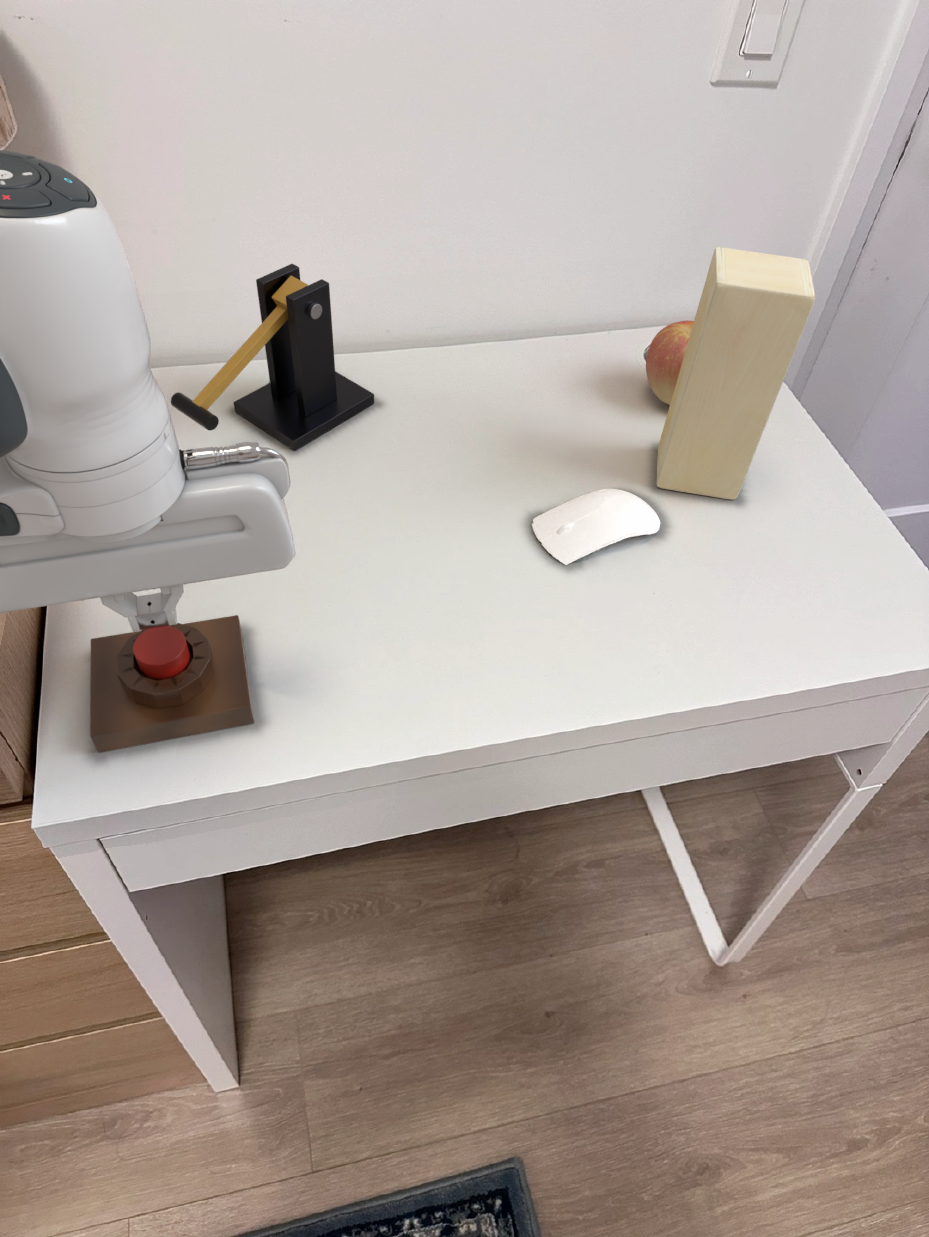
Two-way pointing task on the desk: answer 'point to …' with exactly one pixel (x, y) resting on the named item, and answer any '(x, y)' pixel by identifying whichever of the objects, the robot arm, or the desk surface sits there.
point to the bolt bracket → (301, 368)
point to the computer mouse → (593, 523)
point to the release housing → (169, 688)
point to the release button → (161, 652)
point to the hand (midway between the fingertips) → (155, 621)
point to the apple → (667, 358)
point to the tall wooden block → (733, 369)
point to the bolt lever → (237, 361)
